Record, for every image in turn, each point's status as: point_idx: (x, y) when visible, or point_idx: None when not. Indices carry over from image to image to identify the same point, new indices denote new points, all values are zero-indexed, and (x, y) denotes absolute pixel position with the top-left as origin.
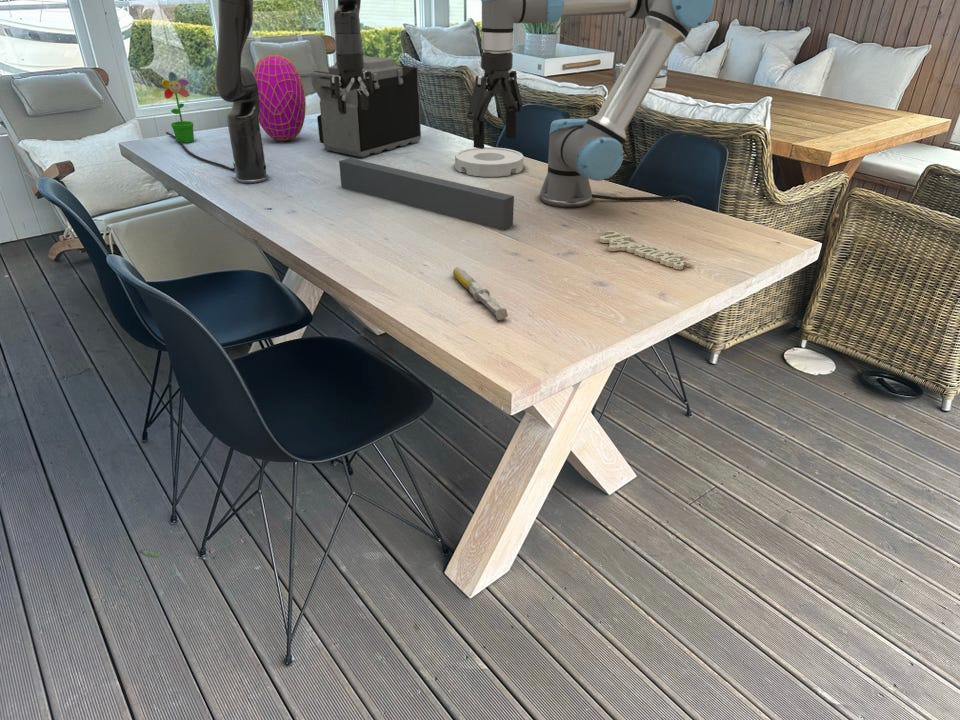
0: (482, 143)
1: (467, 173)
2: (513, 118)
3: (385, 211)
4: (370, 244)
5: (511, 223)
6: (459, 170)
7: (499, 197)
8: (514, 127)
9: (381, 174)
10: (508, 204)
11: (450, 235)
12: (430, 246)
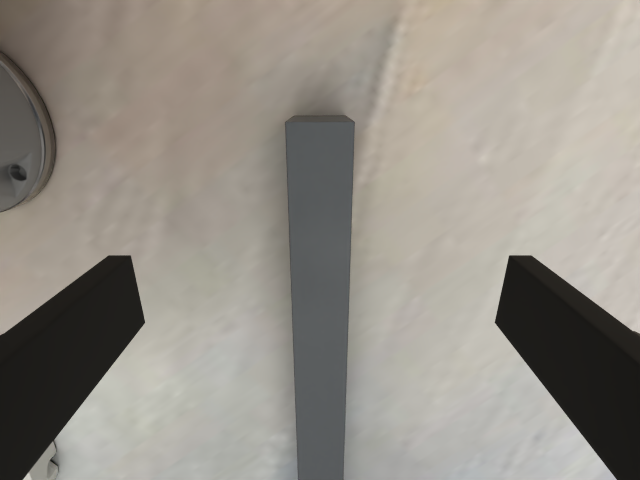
0: (552, 272)
1: (54, 451)
2: (16, 369)
3: (404, 417)
4: (612, 313)
5: (302, 116)
6: (55, 473)
7: (339, 155)
8: (73, 300)
9: None
10: (323, 120)
11: (465, 210)
12: (564, 199)
